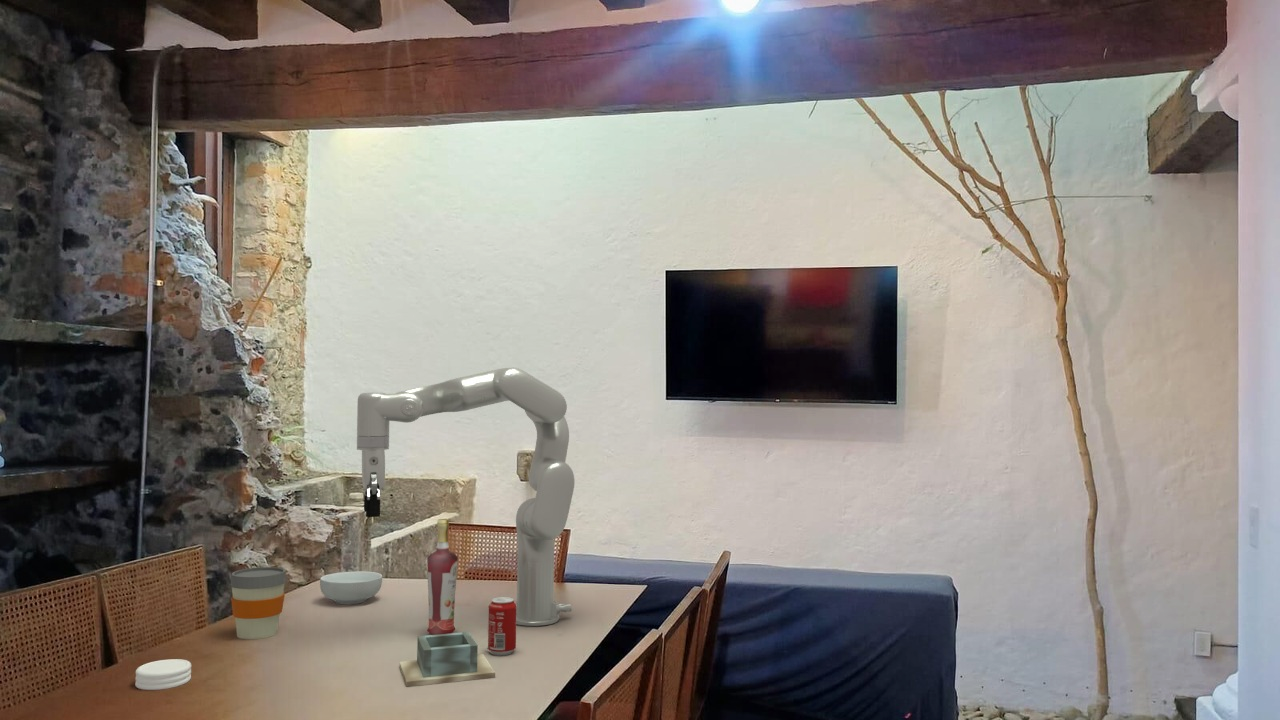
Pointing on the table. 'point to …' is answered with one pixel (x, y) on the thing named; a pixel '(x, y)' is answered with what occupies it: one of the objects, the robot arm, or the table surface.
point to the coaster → (163, 674)
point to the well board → (446, 660)
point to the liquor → (442, 584)
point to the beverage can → (502, 626)
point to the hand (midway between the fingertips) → (371, 514)
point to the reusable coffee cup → (257, 601)
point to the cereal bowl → (350, 586)
